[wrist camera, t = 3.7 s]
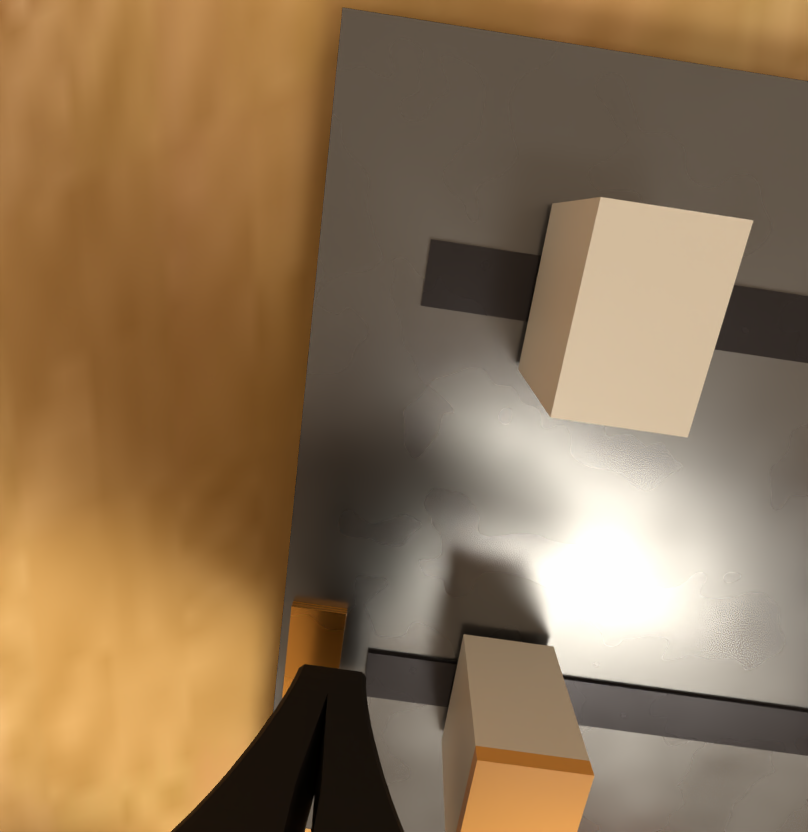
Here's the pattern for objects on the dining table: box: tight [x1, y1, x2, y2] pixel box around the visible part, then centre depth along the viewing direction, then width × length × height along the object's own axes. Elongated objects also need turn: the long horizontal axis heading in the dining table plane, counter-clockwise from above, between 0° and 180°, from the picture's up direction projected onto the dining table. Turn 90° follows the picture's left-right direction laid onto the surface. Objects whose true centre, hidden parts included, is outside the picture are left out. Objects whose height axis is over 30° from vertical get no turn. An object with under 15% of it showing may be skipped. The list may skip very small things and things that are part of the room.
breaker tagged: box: [441, 634, 594, 832], centre depth 12 cm, size 2×3×3 cm, turn 172°
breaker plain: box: [518, 197, 753, 438], centre depth 10 cm, size 2×3×3 cm, turn 172°
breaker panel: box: [273, 8, 808, 832], centre depth 14 cm, size 14×18×2 cm
